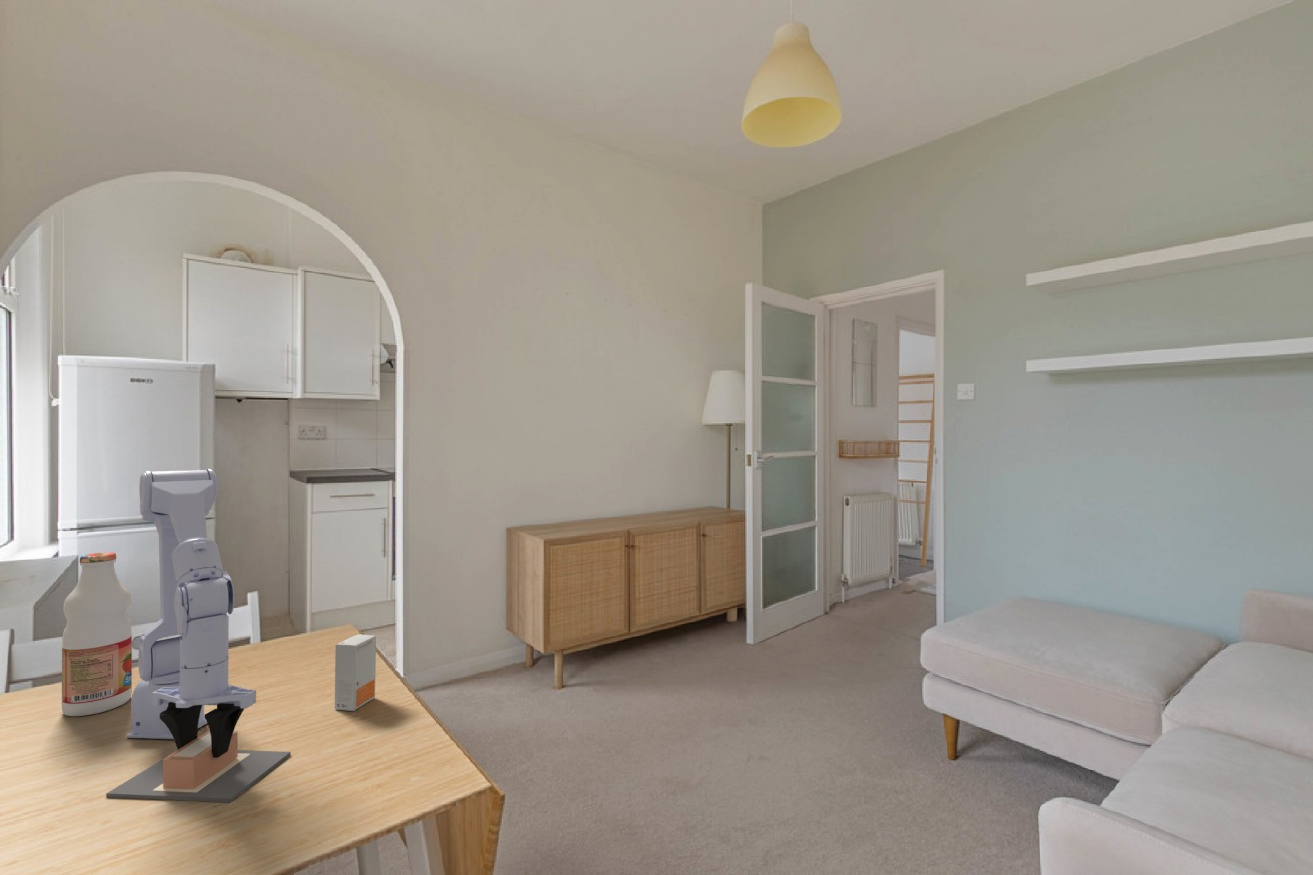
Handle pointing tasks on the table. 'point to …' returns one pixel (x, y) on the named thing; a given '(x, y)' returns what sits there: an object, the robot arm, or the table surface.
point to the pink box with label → (196, 762)
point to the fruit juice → (96, 640)
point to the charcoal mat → (215, 788)
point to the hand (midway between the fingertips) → (204, 753)
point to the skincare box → (355, 672)
